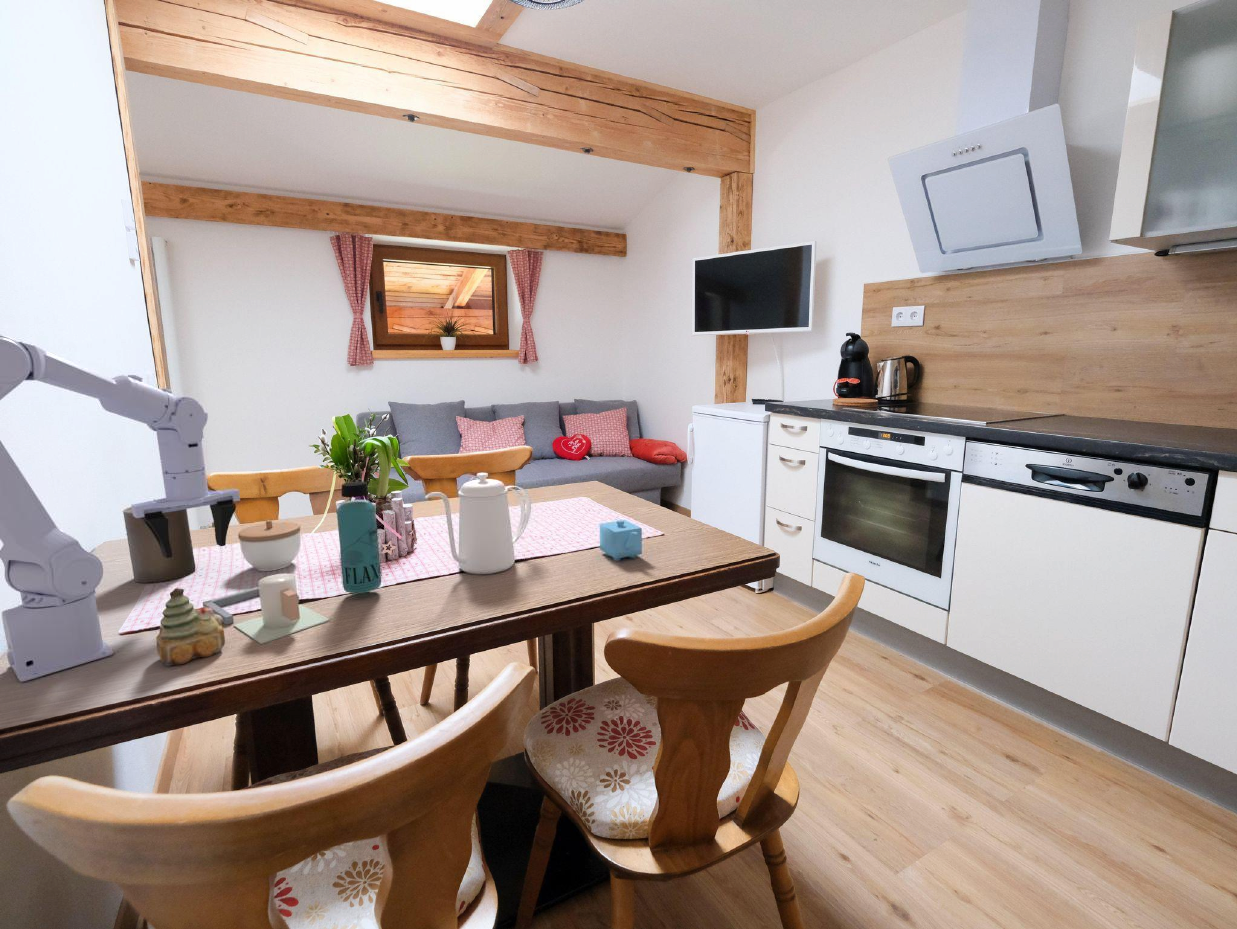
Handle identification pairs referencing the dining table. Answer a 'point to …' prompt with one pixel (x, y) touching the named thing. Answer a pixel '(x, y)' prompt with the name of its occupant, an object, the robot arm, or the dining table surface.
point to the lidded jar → (270, 544)
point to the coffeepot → (485, 525)
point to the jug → (279, 601)
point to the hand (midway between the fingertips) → (195, 550)
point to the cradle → (229, 599)
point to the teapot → (620, 539)
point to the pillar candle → (149, 554)
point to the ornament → (188, 631)
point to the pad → (264, 635)
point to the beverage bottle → (358, 541)
